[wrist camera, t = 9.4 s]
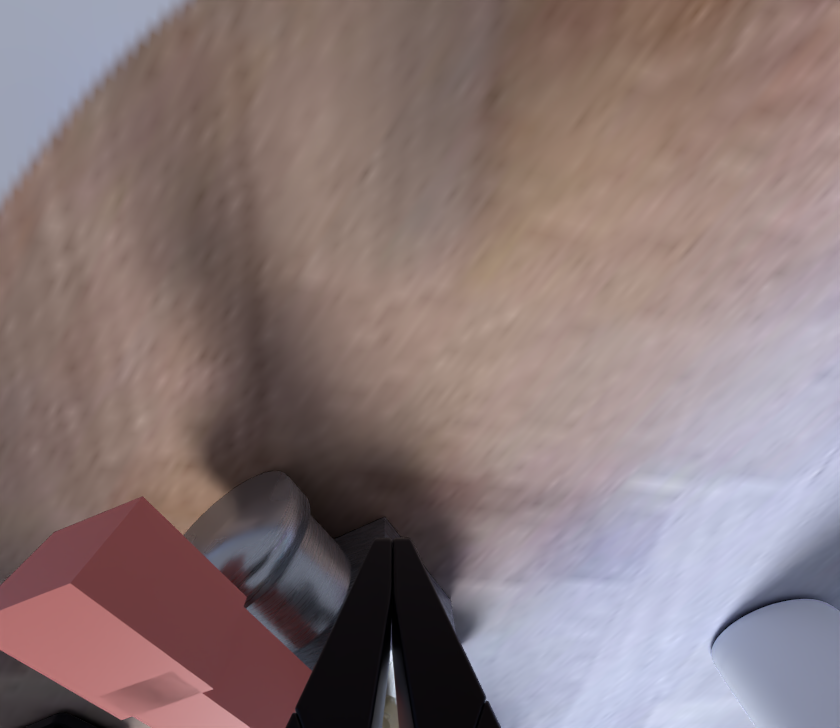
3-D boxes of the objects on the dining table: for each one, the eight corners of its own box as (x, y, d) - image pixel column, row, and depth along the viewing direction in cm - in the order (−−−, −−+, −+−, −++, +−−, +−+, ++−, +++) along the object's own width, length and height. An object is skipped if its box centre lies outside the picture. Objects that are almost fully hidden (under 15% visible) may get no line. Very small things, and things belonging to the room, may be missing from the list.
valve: (378, 683, 22) (375, 811, 17) (182, 511, 15) (92, 646, 10) (485, 643, 21) (511, 768, 16) (325, 441, 14) (295, 556, 10)
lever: (404, 736, 14) (406, 819, 12) (328, 759, 14) (319, 844, 12) (158, 490, 8) (89, 576, 6) (39, 538, 8) (-59, 632, 6)
